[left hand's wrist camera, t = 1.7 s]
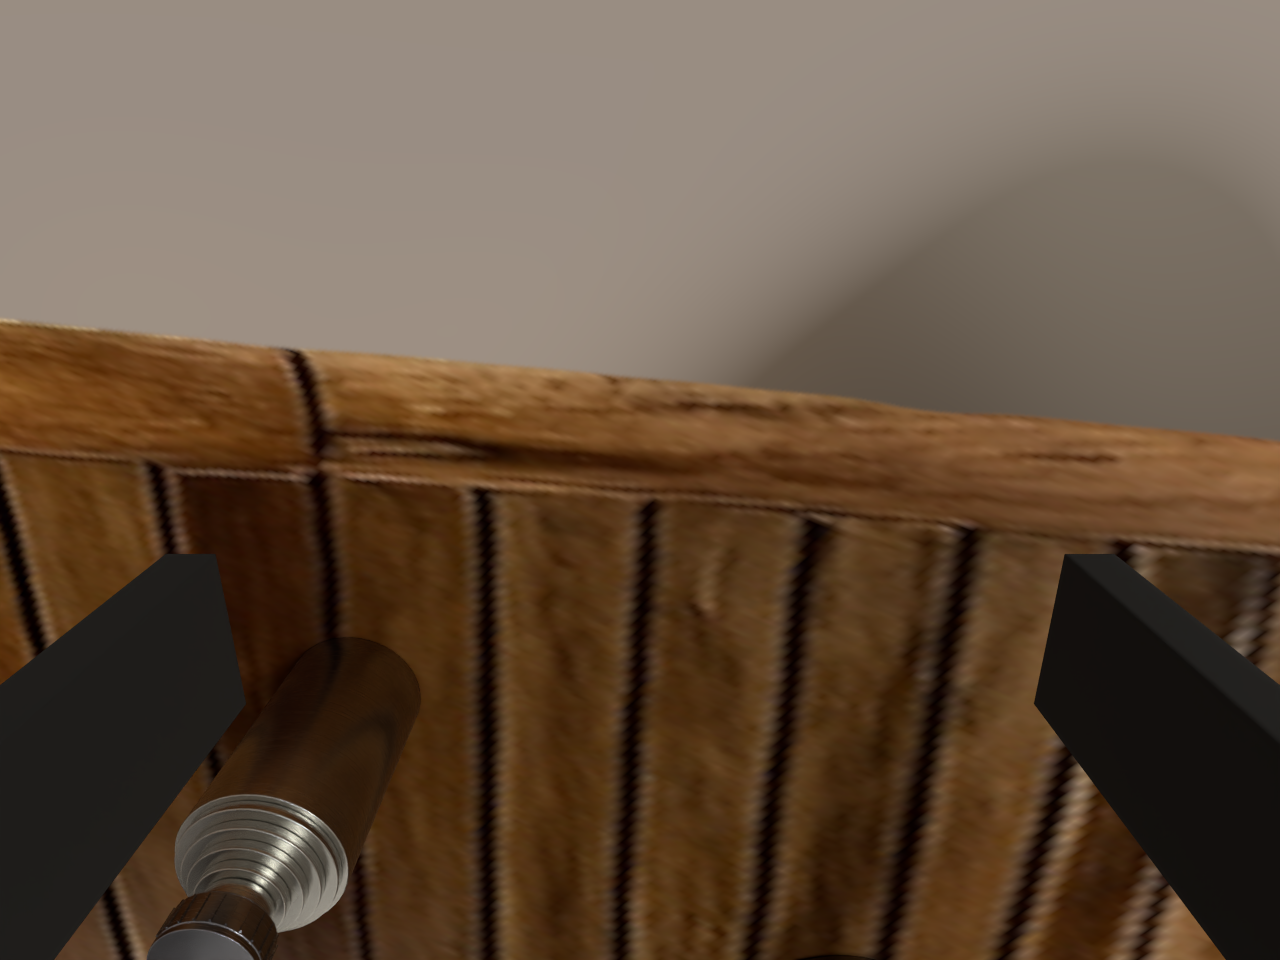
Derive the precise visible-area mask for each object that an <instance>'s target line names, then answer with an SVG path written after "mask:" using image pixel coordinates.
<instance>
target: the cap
mask: <svg viewBox="0 0 1280 960" xmlns="http://www.w3.org/2000/svg"><path fill="white" fill-rule="evenodd" d="M278 936H279V935H278V934H277V929H276V926H275V923H274V921H273V920H272V918H271V917H270V915H269V914H268V913H267V912H266V911H265V910H264V909H263V908H262V907H261V906H259V905H258V904H256V903H255V902H253V901H252V900H250V899H248V898H246V897H243V896H240V895H237V894H234V893H230V892H222V891H207V892H202V893H198V894H194V895H192V896H190V897H188V898H187V899H185V900H184V899H183V900H182V901H181V902H180V904H179V905H178V906H177V907H176V908H173V910H172V911H171V913H170V915H169V916H168V918H167V919H166V921H165V922H164V924H163V926H162V927H161V929H160V930H159V932H158V933H157V935H156V937H157V938H156V939H155V941H154V942H153V944H152V946H151V947H150V949H149V951H148V955H147V960H272V957H273V955H274V953H275V951H276V949H277V947H278V945H277V940H278Z"/></svg>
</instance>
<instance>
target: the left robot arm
mask: <svg viewBox="0 0 1280 960" xmlns="http://www.w3.org/2000/svg"><path fill="white" fill-rule="evenodd" d="M245 704H246V701H245V696H244V692H243V687H242V682H241V677H240V672H239V667H238V662H237V657H236V653H235V648H234V643H233V638H232V633H231V628H230V623H229V619H228V614H227V609H226V604H225V599H224V594H223V589H222V584H221V580H220V575H219V570H218V565H217V560H216V555H215V554H165V555H164V556H163V557H161V558H160V559H159V560H158V561H156V562H155V563H154V564H153V565H151V566H150V567H149V568H148V569H146V570H145V571H144V572H143V573H141V574H140V575H139V576H137V577H136V578H135V579H134V580H132V581H131V582H130V583H129V584H127V585H126V586H125V587H124V588H122V589H121V590H120V591H119V592H117V593H116V594H115V595H113V596H112V597H111V598H110V599H108V600H107V601H106V602H105V603H103V604H102V605H101V606H100V607H98V608H97V609H96V610H95V611H93V612H92V613H91V614H89V615H88V616H87V617H86V618H84V619H83V620H82V621H81V622H79V623H78V624H77V625H76V626H74V627H73V628H72V629H71V630H69V631H68V632H67V633H66V634H64V635H63V636H62V637H60V638H59V639H58V640H57V641H55V642H54V643H53V644H52V645H50V646H49V647H48V648H47V649H45V650H44V651H43V652H42V653H40V654H39V655H38V656H36V657H35V658H34V659H33V660H31V661H30V662H29V663H28V664H26V665H25V666H24V667H23V668H21V669H20V670H19V671H18V672H16V673H15V674H14V675H12V676H11V677H10V678H9V679H7V680H6V681H5V682H4V683H2V684H1V685H0V960H54V959H55V958H56V956H57V955H58V954H59V952H60V951H61V950H62V948H63V947H64V946H65V944H66V943H67V942H68V940H69V939H70V938H71V936H72V935H73V934H74V932H75V931H76V930H77V928H78V927H79V926H80V924H81V923H82V922H83V920H84V919H85V918H86V916H87V915H88V914H89V912H90V911H91V910H92V908H93V907H94V906H95V904H96V903H97V902H98V900H99V899H100V898H101V896H102V895H103V894H104V892H105V891H106V890H107V888H108V887H109V886H110V884H111V883H112V882H113V880H114V879H115V878H116V876H117V875H118V874H119V872H120V871H121V870H122V868H123V867H124V866H125V864H126V863H127V862H128V860H129V859H130V858H131V856H132V855H133V854H134V852H135V851H136V850H137V848H138V847H139V846H140V844H141V843H142V842H143V840H144V839H145V838H146V836H147V835H148V834H149V832H150V831H151V830H152V828H153V827H154V826H155V824H156V823H157V822H158V820H159V819H160V818H161V816H162V815H163V814H164V812H165V811H166V810H167V808H168V807H169V806H170V804H171V803H172V802H173V800H174V799H175V798H176V796H177V795H178V794H179V792H180V791H181V790H182V788H183V787H184V786H185V784H186V783H187V782H188V780H189V779H190V778H191V776H192V775H193V774H194V772H195V771H196V770H197V768H198V767H199V766H200V764H201V763H202V762H203V760H204V759H205V758H206V756H207V755H208V754H209V752H210V751H211V750H212V748H213V747H214V746H215V744H216V743H217V742H218V740H219V739H220V738H221V736H222V735H223V734H224V732H225V731H226V730H227V728H228V727H229V726H230V724H231V723H232V722H233V720H234V719H235V718H236V716H237V715H238V714H239V712H240V711H241V710H242V708H243V707H244V706H245ZM1034 704H1035V706H1036V707H1037V708H1038V710H1039V711H1040V712H1041V714H1042V715H1043V716H1044V718H1045V719H1046V720H1047V722H1048V723H1049V724H1050V726H1051V727H1052V728H1053V730H1054V731H1055V732H1056V734H1057V735H1058V736H1059V738H1060V739H1061V740H1062V742H1063V743H1064V744H1065V746H1066V747H1067V748H1068V750H1069V751H1070V752H1071V754H1072V755H1073V756H1074V758H1075V759H1076V760H1077V762H1078V763H1079V764H1080V766H1081V767H1082V768H1083V770H1084V771H1085V772H1086V774H1087V775H1088V776H1089V778H1090V779H1091V780H1092V782H1093V783H1094V784H1095V786H1096V787H1097V788H1098V790H1099V791H1100V792H1101V794H1102V795H1103V796H1104V798H1105V799H1106V800H1107V802H1108V803H1109V804H1110V806H1111V807H1112V808H1113V810H1114V811H1115V812H1116V814H1117V815H1118V816H1119V818H1120V819H1121V820H1122V822H1123V823H1124V824H1125V826H1126V827H1127V828H1128V830H1129V831H1130V832H1131V834H1132V835H1133V836H1134V838H1135V839H1136V840H1137V842H1138V843H1139V844H1140V846H1141V847H1142V848H1143V850H1144V851H1145V852H1146V854H1147V855H1148V856H1149V858H1150V859H1151V860H1152V862H1153V863H1154V864H1155V866H1156V867H1157V868H1158V870H1159V871H1160V872H1161V874H1162V875H1163V876H1164V878H1165V879H1166V880H1167V882H1168V883H1169V884H1170V886H1171V887H1172V888H1173V890H1174V891H1175V892H1176V894H1177V895H1178V896H1179V898H1180V899H1181V900H1182V902H1183V903H1184V904H1185V906H1186V907H1187V908H1188V910H1189V911H1190V912H1191V914H1192V915H1193V916H1194V918H1195V919H1196V920H1197V922H1198V923H1199V924H1200V926H1201V927H1202V928H1203V930H1204V931H1205V932H1206V934H1207V935H1208V936H1209V938H1210V939H1211V940H1212V942H1213V943H1214V944H1215V946H1216V947H1217V948H1218V950H1219V951H1220V952H1221V954H1222V955H1223V956H1224V958H1225V959H1226V960H1280V685H1279V684H1278V683H1276V682H1275V681H1274V680H1273V679H1271V678H1270V677H1269V676H1268V675H1266V674H1265V673H1264V672H1262V671H1261V670H1260V669H1259V668H1257V667H1256V666H1255V665H1254V664H1252V663H1251V662H1250V661H1249V660H1247V659H1246V658H1245V657H1244V656H1242V655H1241V654H1240V653H1238V652H1237V651H1236V650H1235V649H1233V648H1232V647H1231V646H1230V645H1228V644H1227V643H1226V642H1225V641H1223V640H1222V639H1221V638H1220V637H1218V636H1217V635H1216V634H1214V633H1213V632H1212V631H1211V630H1209V629H1208V628H1207V627H1206V626H1204V625H1203V624H1202V623H1201V622H1199V621H1198V620H1197V619H1196V618H1194V617H1193V616H1192V615H1190V614H1189V613H1188V612H1187V611H1185V610H1184V609H1183V608H1182V607H1180V606H1179V605H1178V604H1177V603H1175V602H1174V601H1173V600H1172V599H1170V598H1169V597H1168V596H1167V595H1165V594H1164V593H1163V592H1161V591H1160V590H1159V589H1158V588H1156V587H1155V586H1154V585H1153V584H1151V583H1150V582H1149V581H1148V580H1146V579H1145V578H1144V577H1143V576H1141V575H1140V574H1139V573H1137V572H1136V571H1135V570H1134V569H1132V568H1131V567H1130V566H1129V565H1127V564H1126V563H1125V562H1124V561H1122V560H1121V559H1120V558H1119V557H1117V556H1116V555H1115V554H1065V555H1064V560H1063V565H1062V570H1061V575H1060V580H1059V584H1058V589H1057V594H1056V599H1055V604H1054V609H1053V614H1052V619H1051V623H1050V628H1049V633H1048V638H1047V643H1046V648H1045V653H1044V657H1043V662H1042V667H1041V672H1040V677H1039V682H1038V687H1037V692H1036V696H1035V701H1034ZM807 960H874V959H869V958H864V957H855V956H827V957H818V958H813V959H807Z"/></svg>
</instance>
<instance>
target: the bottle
mask: <svg viewBox="0 0 1280 960" xmlns="http://www.w3.org/2000/svg"><path fill="white" fill-rule="evenodd" d="M420 698H421V697H420V689H419V686H418V682H417V680H416V678H415V675H414V674H413V672H412V670H411V669H410V668H409V666H408V665H407V664H406V663H405V662H404V661H403V660H402V659H401V658H400V657H399V656H398V655H397V654H395V653H394V652H393V651H391V650H390V649H388V648H386V647H384V646H382V645H380V644H378V643H375V642H372V641H369V640H365V639H360V638H336V639H331V640H327V641H324V642H322V643H319V644H317V645H315V646H313V647H312V648H310V649H309V650H308V651H306V652H305V653H304V654H303V655H302V656H301V657H300V659H299V660H298V662H297V663H296V664H295V666H294V667H293V669H292V670H291V671H290V673H289V674H288V676H287V677H286V678H285V680H284V681H283V683H282V684H281V686H280V687H279V688H278V690H277V691H276V693H275V694H274V695H273V697H272V698H271V700H270V701H269V702H268V704H267V705H266V707H265V708H264V709H263V711H262V712H261V714H260V715H259V717H258V718H257V719H256V721H255V722H254V724H253V725H252V726H251V728H250V729H249V731H248V732H247V733H246V735H245V736H244V738H243V739H242V740H241V742H240V743H239V745H238V746H237V748H236V749H235V750H234V752H233V753H232V755H231V756H230V757H229V759H228V760H227V762H226V763H225V764H224V766H223V767H222V769H221V770H220V772H219V773H218V774H217V776H216V777H215V779H214V780H213V781H212V783H211V784H210V786H209V787H208V788H207V790H206V791H205V793H204V794H203V795H202V797H201V798H200V800H199V801H198V803H197V804H196V805H195V807H194V808H193V810H192V811H191V812H190V814H189V815H188V817H187V818H186V819H185V821H184V822H183V824H182V825H181V827H180V829H179V831H178V834H177V838H176V842H175V870H176V874H177V877H178V879H179V882H180V884H181V886H182V887H183V889H184V891H185V892H186V894H187V896H188V897H190V896H192V895H194V894H198V893H202V892H207V891H222V892H230V893H234V894H237V895H240V896H243V897H246V898H248V899H250V900H252V901H253V902H255V903H256V904H258V905H259V906H261V907H262V908H263V909H264V910H265V911H266V912H267V913H268V914H269V915H270V917H271V918H272V920H273V921H274V923H275V926H276V929H277V933H278V932H283V931H288V930H293V929H297V928H300V927H303V926H305V925H307V924H309V923H311V922H313V921H314V920H316V919H318V918H319V917H320V916H321V915H322V914H324V913H325V912H327V911H328V910H329V909H330V908H332V907H333V906H334V905H335V904H336V903H337V901H338V900H339V899H340V898H341V896H342V894H343V893H344V891H345V888H346V886H347V883H348V881H349V879H350V876H351V874H352V871H353V869H354V867H355V864H356V862H357V859H358V857H359V855H360V852H361V850H362V847H363V845H364V842H365V840H366V838H367V835H368V833H369V830H370V828H371V826H372V823H373V821H374V818H375V816H376V814H377V811H378V809H379V806H380V804H381V802H382V799H383V797H384V794H385V792H386V789H387V787H388V785H389V782H390V780H391V777H392V775H393V773H394V770H395V768H396V765H397V763H398V761H399V758H400V756H401V753H402V751H403V749H404V746H405V744H406V741H407V739H408V736H409V734H410V732H411V729H412V727H413V724H414V722H415V720H416V717H417V715H418V712H419V708H420Z"/></svg>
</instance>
